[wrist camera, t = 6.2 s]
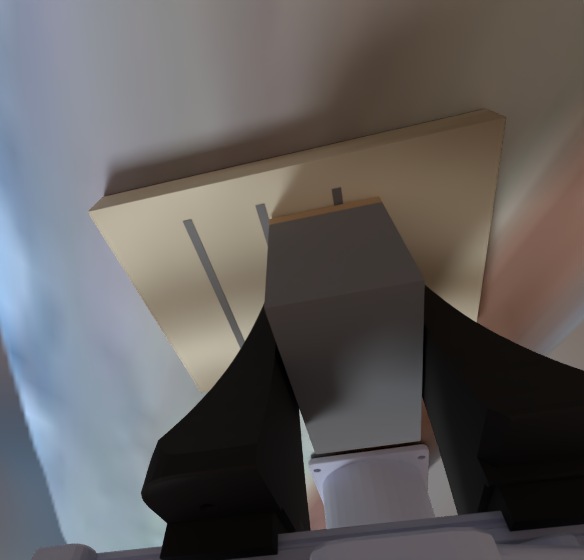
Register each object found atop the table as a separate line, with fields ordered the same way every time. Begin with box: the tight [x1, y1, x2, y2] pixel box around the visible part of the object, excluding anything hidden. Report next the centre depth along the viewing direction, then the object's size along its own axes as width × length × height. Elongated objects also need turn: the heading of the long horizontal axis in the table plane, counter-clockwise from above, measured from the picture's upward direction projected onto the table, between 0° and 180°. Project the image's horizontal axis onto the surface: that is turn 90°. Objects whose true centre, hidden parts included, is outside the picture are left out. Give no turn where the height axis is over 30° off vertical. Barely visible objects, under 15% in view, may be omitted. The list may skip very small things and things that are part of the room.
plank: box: [88, 109, 506, 393], centre depth 14 cm, size 10×13×1 cm
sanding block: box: [264, 197, 425, 454], centre depth 12 cm, size 7×4×4 cm, turn 12°
